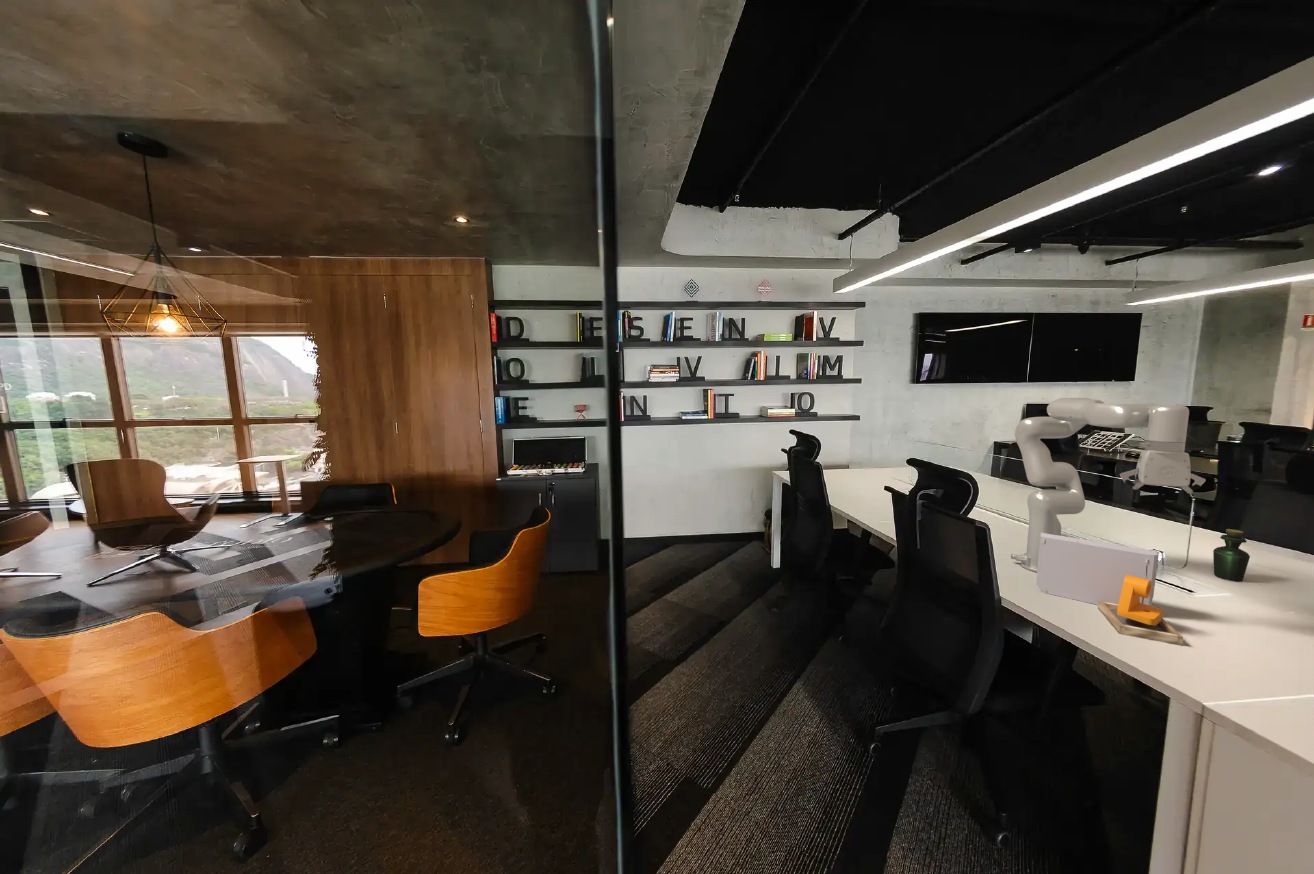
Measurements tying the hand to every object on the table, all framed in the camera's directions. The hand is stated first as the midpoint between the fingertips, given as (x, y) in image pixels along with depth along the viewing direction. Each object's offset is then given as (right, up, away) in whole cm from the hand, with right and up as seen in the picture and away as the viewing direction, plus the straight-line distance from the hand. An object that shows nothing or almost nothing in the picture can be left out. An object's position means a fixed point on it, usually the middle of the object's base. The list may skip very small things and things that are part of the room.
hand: (1158, 503), depth 130 cm
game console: (-5, -35, +15) cm, 39 cm away
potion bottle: (+61, -32, +30) cm, 75 cm away
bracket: (-6, -34, 0) cm, 35 cm away
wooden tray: (-6, -37, 0) cm, 37 cm away
